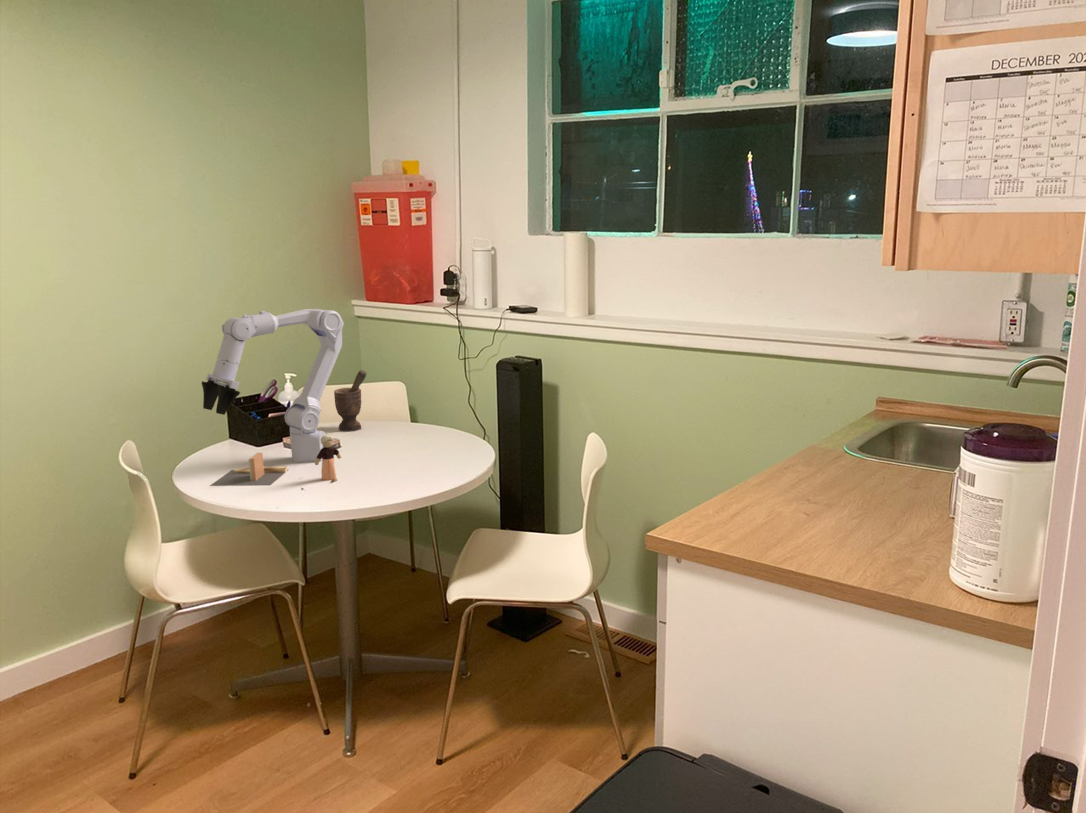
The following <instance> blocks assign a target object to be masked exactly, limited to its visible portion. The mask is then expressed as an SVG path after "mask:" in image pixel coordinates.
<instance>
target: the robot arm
mask: <svg viewBox="0 0 1086 813" xmlns="http://www.w3.org/2000/svg"><path fill="white" fill-rule="evenodd" d="M258 312H259V313H258V314H257V313H256V314H251V315H250V314H249V315H248V314H242V316H241V317H234V316H233V317H230V318H228V319H227V320H225V322H224V324H222V326H221V330H222V333H223V336H222V341H221V344H220V347H219V351H218V354H217V358H216V361H215V364H214V368H213V371H212V373H207V375H206V379H205V381H201V386H202V390H203V402H202V403H203V406H202V407H203V409H205V410H209V411H212V410H213V409H214V406H215V404H216V402H217V404H216V410H215V413H216V414H219V415H223V416H225V415H226V414H227V412H228V410H229V408H230V406H231V405H232V403H233V401H235V399H236V398H237V397H238V396H240V394H241V391H238V390H239V386H240V382H239V381H236V377H237V373H238V370H239V368H240V367H239V366H240V363H241V360H242V356H243V353H244V349H245V344H246V342H247V341H248V340H250V338H255V337H260V336H264V335H269V334H274V333H275V332H276V331H277V329H278V328H282V327H283V328H284V327H291V326H296V325H301V324H303V325H305V326H308V327H309V328H310V330H311V331H312V332H313V333H314V334H315V335H316V336H317V338H318V340H319V343H320V348H319V350H318V353H317V354H316V357H315V360H314V361H313V363H312V364H313V365H312V367H311V370H310V372H309V374H308V376H307V378H306V382H305V384H304V386H303V388H302V391H301V393H300V395H299V396H298V397H296V398H295V399H294V400H293V402H292V404H291V405H290V407H288V408H287V409H286V411H285V414H284V421H285V423H286V425H287V426H289V438H290V447H291V448H290V449H291V461H293V462H295V463H311V462H314V463H315V462H316V458H317V455H318V454H319V452H320V450H321V449H322V448H324V446H323V444H321V441H320V440H321V437H322V436H324V435H326V433H325V431H323V430H318V429H317V428H318V426H319V424H320V414H321V411H322V408H321V404H320V400H321V398H322V396H323V394H324V390H325V389H326V385H327V383H328V381H329V379H330V376H331V374H332V371H333V369H334V366H335V365H336V361H337V359H338V356H339V354H340V352H341V349H342V347H343V328H344V325H345V323H344V321H343V319H342V317H341V315H340V313H339V312H337V310H330V309H329V310H328V309H320V308H313V309H312V308H305V309H298V310H295V311H291V312H286V313H281V314H278V315H274V314H273V313H271V312H269V311H268V312H266V310H260V311H258ZM320 462H322V458H321V459H320V461H319V463H320Z"/></svg>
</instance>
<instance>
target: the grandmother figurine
mask: <svg viewBox="0 0 1086 813" xmlns="http://www.w3.org/2000/svg"><path fill="white" fill-rule="evenodd" d="M320 441H321V444H323V446H324V448H322V449H321V450H320V452H319V454H318V455H317V458H316V462H314V465H315V466H318V465H319V464H320V462H321V472H320V473H321V480H322V481H325V482H326V481H330V482H333V483H334V482H337V481H338V478H337V472H336V467H335V456H336V458H337V459H339V460H340V459H341V458H342V456H341V454H340V451H339V450H338V449H337V448H336V447H334V446H333V443H334V437H333V436H332V435H331V434H326V433H325V435H324V436H322V437H321V440H320ZM321 458H322V461H320V459H321ZM319 461H320V462H319Z"/></svg>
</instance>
